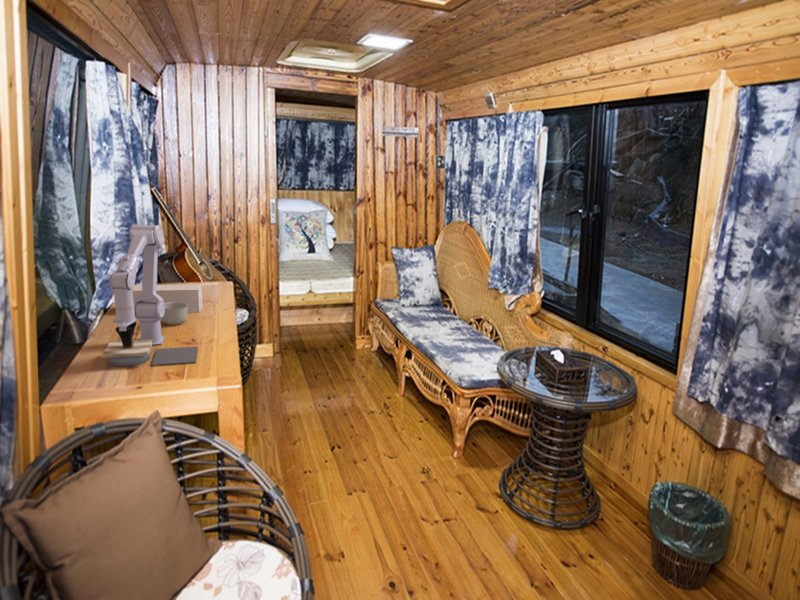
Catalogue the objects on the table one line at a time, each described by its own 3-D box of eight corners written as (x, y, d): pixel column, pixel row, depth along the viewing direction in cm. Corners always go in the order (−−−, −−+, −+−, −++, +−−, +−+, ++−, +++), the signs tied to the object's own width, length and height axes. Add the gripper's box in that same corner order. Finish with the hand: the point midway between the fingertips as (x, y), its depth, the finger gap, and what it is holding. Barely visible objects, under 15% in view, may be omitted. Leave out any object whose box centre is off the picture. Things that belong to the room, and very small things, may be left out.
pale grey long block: (122, 314, 249) (120, 290, 246) (129, 308, 259) (127, 285, 256) (199, 313, 255) (198, 289, 252) (202, 306, 265) (201, 284, 263)
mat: (157, 350, 207) (157, 348, 207) (197, 347, 211) (197, 346, 211) (151, 366, 192) (151, 364, 192) (195, 363, 196) (195, 361, 196)
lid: (110, 344, 201) (108, 330, 200) (153, 341, 205) (152, 328, 204) (102, 358, 188) (100, 343, 187) (148, 355, 192) (146, 341, 191)
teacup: (182, 317, 247) (181, 300, 245) (193, 323, 239) (191, 305, 237) (149, 323, 237) (148, 305, 235) (159, 330, 230) (157, 310, 228)
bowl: (112, 354, 202) (111, 344, 201) (152, 352, 205) (151, 342, 204) (105, 367, 190) (104, 357, 189) (147, 365, 193) (146, 354, 192)
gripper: (115, 301, 198) (119, 338, 202) (107, 313, 185) (111, 352, 188) (137, 301, 200) (140, 337, 204) (131, 312, 187) (134, 351, 190)
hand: (128, 344), depth 196 cm, fingers closed on lid, 3 cm apart
